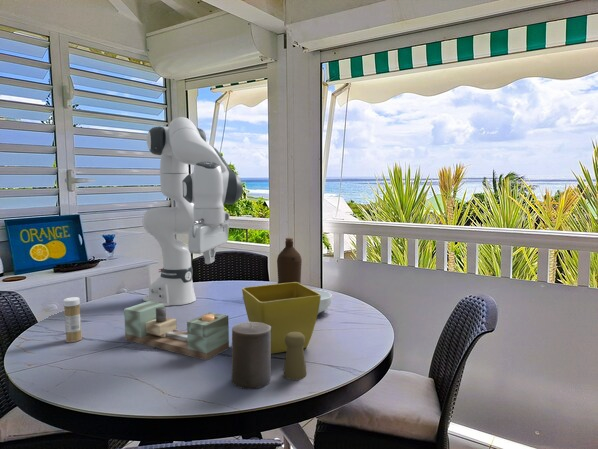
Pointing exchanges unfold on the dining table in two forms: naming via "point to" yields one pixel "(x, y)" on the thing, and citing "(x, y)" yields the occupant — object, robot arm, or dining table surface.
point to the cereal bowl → (324, 300)
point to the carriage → (161, 323)
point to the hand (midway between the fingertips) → (209, 263)
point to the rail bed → (178, 332)
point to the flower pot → (283, 310)
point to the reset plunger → (208, 317)
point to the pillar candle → (251, 355)
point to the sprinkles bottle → (72, 319)
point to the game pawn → (295, 356)
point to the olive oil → (289, 264)
